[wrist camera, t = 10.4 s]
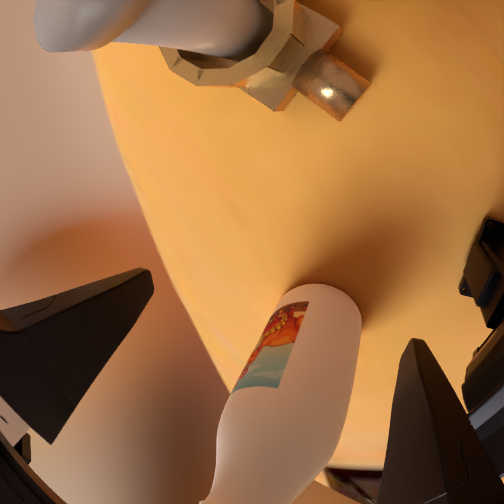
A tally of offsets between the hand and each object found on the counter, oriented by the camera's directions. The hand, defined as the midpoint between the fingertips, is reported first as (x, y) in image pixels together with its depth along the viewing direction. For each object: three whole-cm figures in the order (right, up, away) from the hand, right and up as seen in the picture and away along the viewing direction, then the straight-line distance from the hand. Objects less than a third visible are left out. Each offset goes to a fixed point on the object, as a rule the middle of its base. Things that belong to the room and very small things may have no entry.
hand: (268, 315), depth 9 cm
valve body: (+2, +16, +6) cm, 18 cm away
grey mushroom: (-1, +16, +5) cm, 17 cm away
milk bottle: (+5, -4, +16) cm, 17 cm away
